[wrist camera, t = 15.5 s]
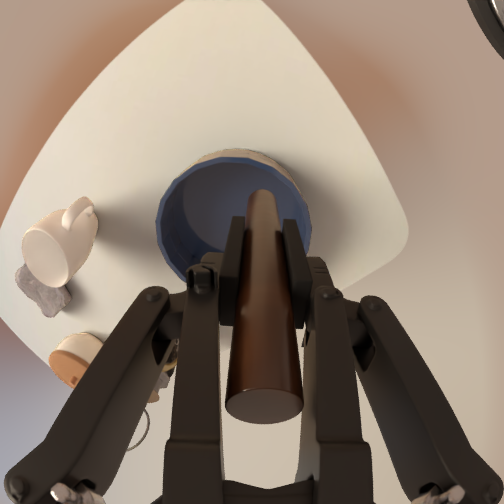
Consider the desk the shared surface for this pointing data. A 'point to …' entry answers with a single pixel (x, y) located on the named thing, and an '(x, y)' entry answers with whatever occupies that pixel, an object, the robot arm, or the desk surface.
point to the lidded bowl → (74, 357)
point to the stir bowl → (221, 204)
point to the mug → (60, 243)
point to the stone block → (42, 292)
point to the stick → (263, 324)
